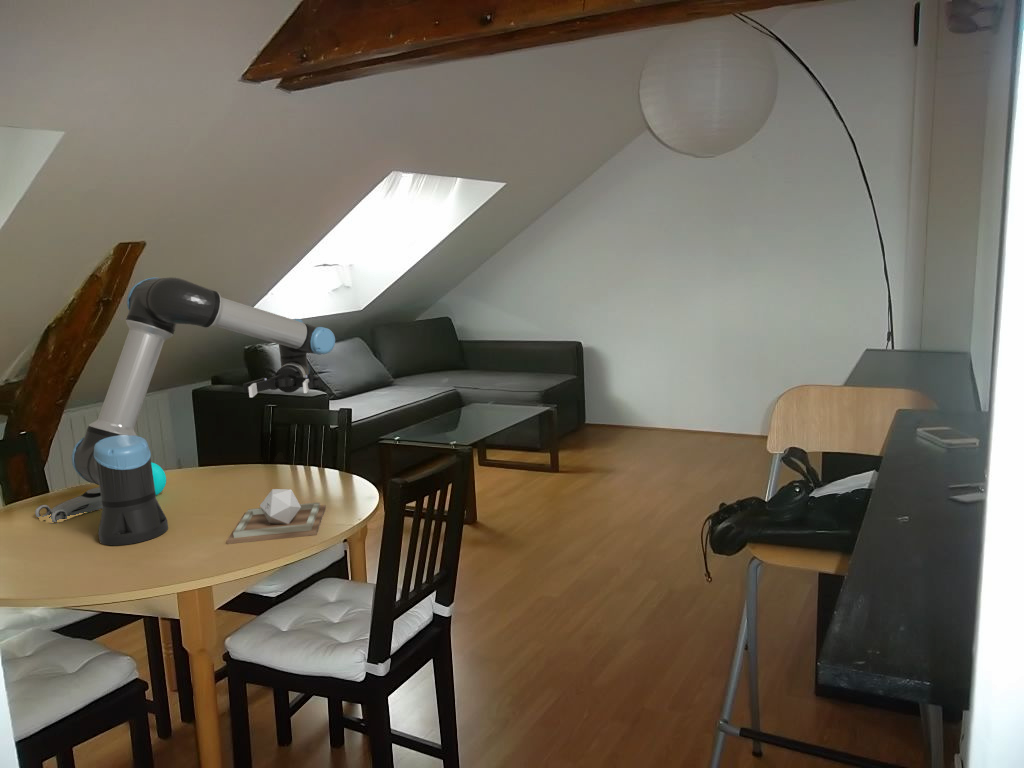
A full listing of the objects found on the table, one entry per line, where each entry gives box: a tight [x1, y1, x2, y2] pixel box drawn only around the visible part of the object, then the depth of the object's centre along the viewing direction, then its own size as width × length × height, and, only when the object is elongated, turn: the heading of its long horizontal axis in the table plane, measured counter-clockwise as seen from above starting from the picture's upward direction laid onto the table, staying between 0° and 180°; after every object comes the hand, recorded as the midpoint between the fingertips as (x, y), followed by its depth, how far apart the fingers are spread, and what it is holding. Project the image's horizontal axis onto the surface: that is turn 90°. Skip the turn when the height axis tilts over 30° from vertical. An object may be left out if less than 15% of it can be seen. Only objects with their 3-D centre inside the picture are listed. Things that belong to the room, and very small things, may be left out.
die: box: [259, 488, 301, 524], centre depth 192 cm, size 8×9×10 cm
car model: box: [34, 486, 103, 522], centre depth 216 cm, size 11×24×5 cm, turn 145°
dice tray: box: [226, 501, 327, 545], centre depth 193 cm, size 20×20×2 cm
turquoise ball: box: [151, 461, 167, 496], centre depth 220 cm, size 10×10×10 cm
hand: (277, 390), depth 206 cm, fingers open, 13 cm apart
